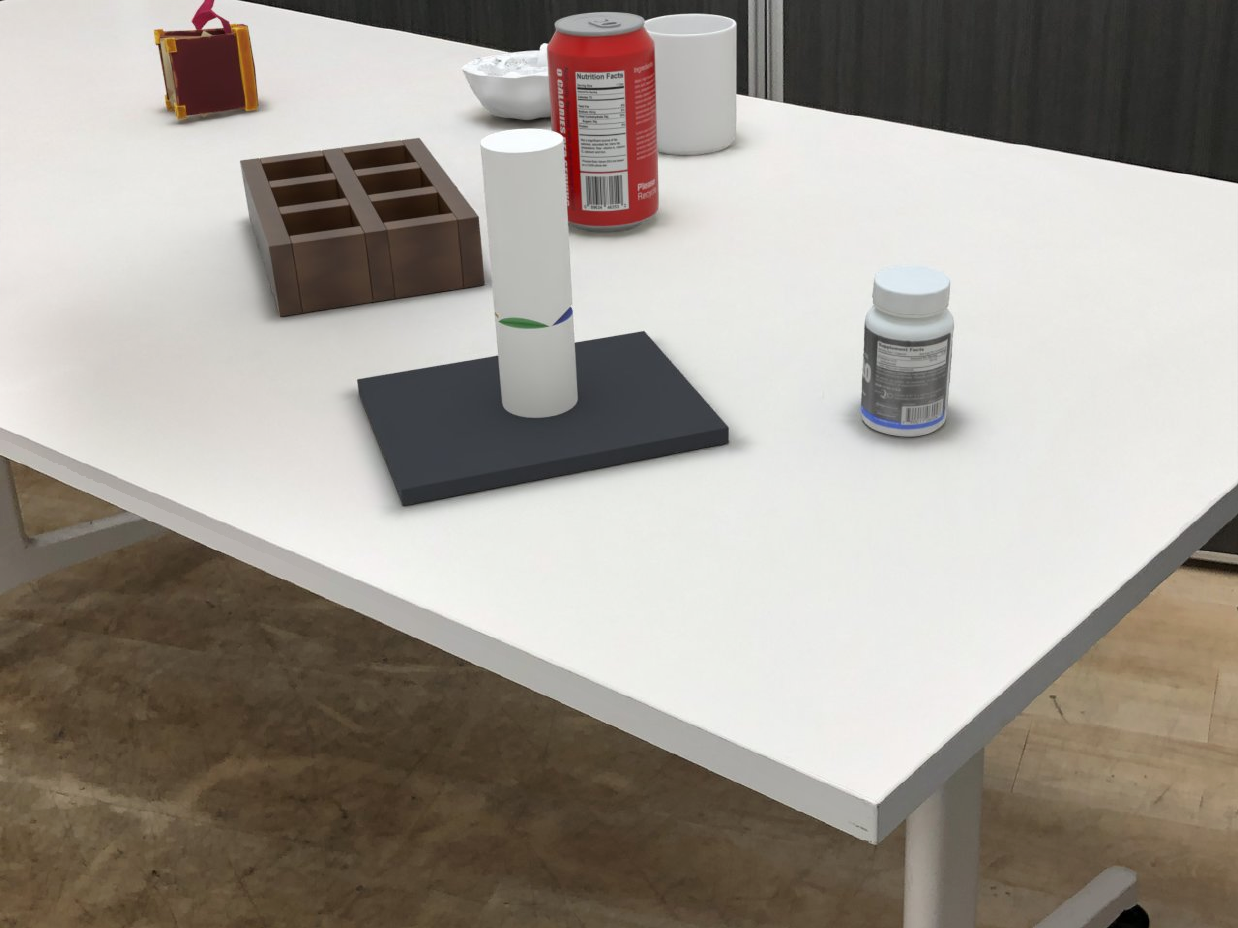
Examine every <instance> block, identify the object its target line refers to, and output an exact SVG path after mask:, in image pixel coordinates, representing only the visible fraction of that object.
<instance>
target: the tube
mask: <svg viewBox="0 0 1238 928" xmlns="http://www.w3.org/2000/svg"><path fill="white" fill-rule="evenodd" d="M479 143H480V144H479V145H480V156H481V166H482V167H481V169H482V180H483V192H484V203H485V204H484V205H485V215H486V226H487V240H488V249H489V250H488V251H489V263H490V273H491V274H490V275H491V288H492V297H493V300H492V301H493V310H494V323H495V335H496V345H497V356H498V359H499V371H500V383H501V395H502V404H503V407H504V408H505V410H507V411H508V412H510V413H512V414H514V415H517V416H522V417H529V418H543V417H550V416H555V415H558V414H562V413H564V412H566V411H568V410H570V409H571V408H573V407H574V406H575V405H576V403H577V401H578V394H577V376H576V358H575V342H576V341H575V324H574V310H573V307H571V306H572V305H573V290H572V289H573V288H572V287H573V286H572V270H571V269H572V268H571V252H570V251H571V250H570V237H569V236H570V235H569V233H570V231H569V223H568V214H567V196H566V178H565V160H564V142H563V136H562V135H560V134H559V133H557V132H554V131H552V130H549V129H540V128H516V129H507V130H502V131H497V132H494V133H491V134H488V135H486V136H485V137H483V138H481V140H480V142H479Z"/></svg>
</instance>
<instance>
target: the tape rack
mask: <svg viewBox="0 0 1238 928" xmlns="http://www.w3.org/2000/svg"><path fill="white" fill-rule="evenodd" d="M239 164H240V170H241V176H242V182H243V189H244V193H245V194H244V195H245V200H246V205H247V206H246V207H247V211H248V218H249V223H250V226H251V229H252V232H253V236H254V239H255V241H256V246H257V248H258V251H259V254H260V257H261V261H262V264H263V267H264V271H265V273H266V276H267V281H268V283H269V286H270V289H271V292H272V296H273V299H274V302H275V306H276V308H277V311H278V315H279V317H286V316H294V315H299V314H306V313H312V312H317V311H325V310H331V309H339V308H344V307H351V306H356V305H364V304H369V303H373V302H374V303H377V302H382V301H390V300H395V299H403V298H408V297H416V296H421V295H428V294H429V295H430V294H436V293H441V292H448V291H455V290H460V289H467V288H474V287H479V286H484V285H486V283H485V270H484V262H483V260H484V259H483V247H482V237H481V226H480V217H479V215H478V214H477V213H476V211H475V210H474V208H473V207H472V206H471V205H470V203H469V202H468V200H467V198H465V196H464V195H463V194H462V192H461V191H460V190H459V188H458V187H457V186H456V184H455V183H454V181H452V179H451V178H450V176H449V175H448V174H447V172H446V171H445V169H444V168H443V167H442V166H441V164H440V163H439V162H438V160H437V159H436V158H435V156H434V155H433V153H432V152H431V151H430V149H429V148H428V147H427V146H426V144H425V143H424V142H423V140H422V139H421V138H420V137H415V138H408V139H398V140H391V141H390V140H389V141H383V142H373V143H366V144H357V145H351V146H343V147H342V146H341V147H335V148H327V149H320V150H319V149H318V150H313V151H305V152H296V153H290V154H289V153H288V154H282V155H281V154H279V155H272V156H265V157H260V158H259V157H257V158H249V159H248V158H247V159H241V160H239Z"/></svg>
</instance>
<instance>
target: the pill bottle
mask: <svg viewBox="0 0 1238 928" xmlns="http://www.w3.org/2000/svg"><path fill="white" fill-rule="evenodd" d="M950 294H951V280H950V278H949V276H948V275H947V274H946V273H945V272H942V271H941V270H939V269H936V268H933V267H929V266H923V265H917V264H902V265H892V266H889V267H886V268H883V269H882V270H880V271H877V273H876V274H875V275H874V277H873V287H872V294H871V298H872V305H873V306H871V307H870V308H869V309H868V310H867V312H866V315H865V319H864V326H863V354H862V369H861V371H862V373H861V395H860V396H861V397H860V416H861V419H862V421H863V422H864V424H865V425H867V426H868V427H869V428H870V429H872V430H874V431H876V432H879V433H881V434H886V435H891V436H897V437H907V438H908V437H909V438H910V437H911V438H912V437H921V436H925V435H928V434H931V433H934V432H936V431H937V430H938V429H940V428H941V427H942V426H943V425H944V423H945V422H946V418H947V414H948V403H949V394H950V393H949V392H950V383H951V370H952V357H953V339H954V330H955V320H954V315H953V314H952V313H951V311H950V309H948V307H949V303H950Z"/></svg>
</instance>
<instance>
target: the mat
mask: <svg viewBox="0 0 1238 928" xmlns="http://www.w3.org/2000/svg"><path fill="white" fill-rule="evenodd" d="M575 358H576V376H577V394H578V401H577V403H576V405H575V406H574V407H573V408H571V409H570V410H568V411H566V412H564V413H562V414H558V415H555V416H550V417H543V418H529V417H522V416H517V415H514V414H512V413H510V412H508V411H507V410H505V408H504V407H503V404H502V395H501V383H500V371H499V359H498V355H494V356H486V357H482V358H475V359H469V360H464V361H457V362H450V363H446V364H440V365H434V366H428V367H427V366H426V367H422V368H416V369H409V370H403V371H398V372H392V373H386V374H379V375H374V376H368V377H363V378H357V380H356V383H357V389H358V395H359V398H360V400H361V404H363V407H364V411H365V413H366V416H367V418H368V421H369V423H370V425H371V429H372V430H373V434H374V436H375V438H376V442H377V444H378V446H379V448H380V451H381V454H382V456H383V459H384V461H385V464H386V467H387V469H388V472H389V474H390V477H391V479H392V481H393V484H394V487H395V489H396V492H397V494H398V497H399V499H400V503H401V505H402V506H408V505H414V504H419V503H424V502H429V501H434V500H441V499H446V498H451V497H456V496H460V495H465V494H471V493H476V492H480V491H487V490H492V489H496V488H502V487H506V486H512V485H519V484H524V483H529V482H534V481H538V480H544V479H549V478H554V477H555V478H556V477H559V476H565V475H570V474H575V473H580V472H585V471H590V470H596V469H600V468H606V467H611V466H617V465H622V464H626V463H627V464H628V463H631V462H637V461H642V460H648V459H653V458H659V457H663V456H667V455H668V456H669V455H673V454H678V453H684V452H689V451H695V450H699V449H705V448H709V447H715V446H721V445H725V444H729V443H730V442H729V441H730V433H729V431H730V427H729V426H728V425H727V424H726V422H725V421H724V420H723V419H722V418H721V417H720V415H718V413H717V412H716V411H715V410H714V408H713V407H712V406H711V405H710V404H709V403H708V402H707V401H706V400H705V398H704V397H703V396H702V395H701V394H700V393H699V391H698V390H697V389H696V388H695V387H694V386H693V384H691V383H690V381H689V380H688V378H686V377H685V376H684V374H683V373H682V372H681V371H680V370H679V368H678V367H676V365H675V364H674V363H673V362H672V361H671V359H670V358H669V357H668V356H667V355H666V354H665V353H664V352H663V351H662V350H661V348H660V347H659V346H658V344H656V342H655V341H654V340H653V339H652V338H651V336H649V334H648V333H647V331H645V330H640V331H635V332H629V333H624V334H617V335H612V336H611V335H610V336H605V337H599V338H593V339H587V340H582V341H575Z"/></svg>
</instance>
